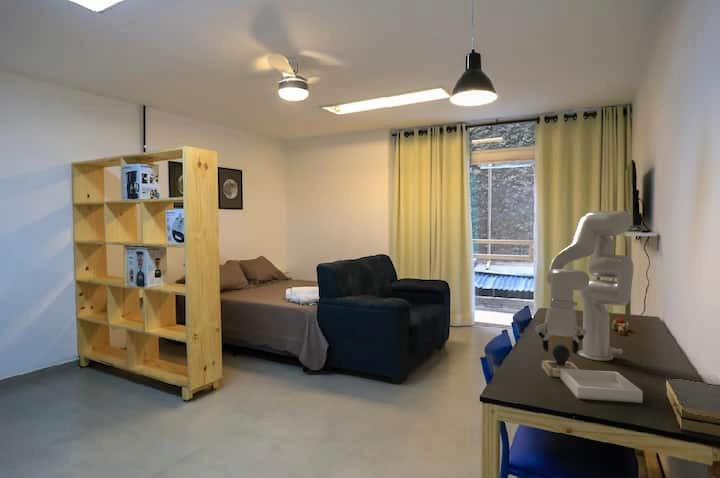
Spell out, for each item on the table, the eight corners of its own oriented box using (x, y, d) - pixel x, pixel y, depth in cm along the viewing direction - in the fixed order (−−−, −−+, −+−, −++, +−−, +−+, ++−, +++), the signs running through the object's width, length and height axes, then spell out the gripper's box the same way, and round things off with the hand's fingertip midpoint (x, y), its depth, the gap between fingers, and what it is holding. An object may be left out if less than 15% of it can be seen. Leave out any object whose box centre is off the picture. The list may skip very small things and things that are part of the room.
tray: (616, 382, 144) (617, 371, 144) (642, 402, 126) (642, 391, 126) (560, 378, 147) (560, 368, 147) (577, 398, 129) (577, 387, 129)
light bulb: (549, 369, 156) (549, 343, 156) (563, 369, 156) (564, 342, 156) (557, 375, 150) (558, 347, 150) (572, 374, 151) (573, 346, 151)
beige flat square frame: (571, 368, 158) (571, 362, 158) (580, 378, 147) (581, 371, 147) (542, 366, 159) (542, 360, 159) (549, 376, 149) (549, 369, 149)
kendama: (632, 339, 209) (628, 326, 225) (630, 326, 208) (626, 315, 224) (614, 339, 212) (611, 327, 228) (612, 327, 212) (609, 316, 228)
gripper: (583, 304, 155) (582, 351, 155) (533, 301, 158) (532, 347, 158) (590, 307, 148) (589, 356, 148) (538, 304, 151) (537, 352, 151)
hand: (560, 351), depth 153 cm, fingers open, 9 cm apart
